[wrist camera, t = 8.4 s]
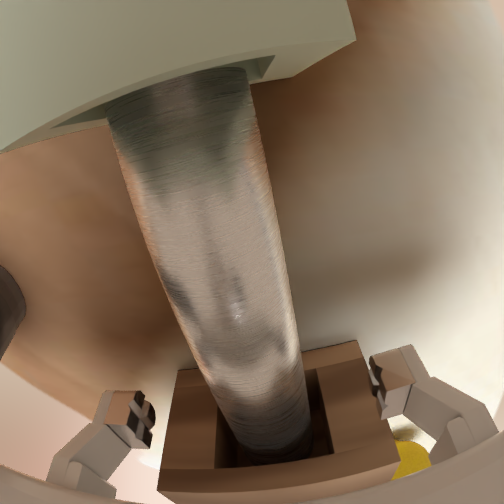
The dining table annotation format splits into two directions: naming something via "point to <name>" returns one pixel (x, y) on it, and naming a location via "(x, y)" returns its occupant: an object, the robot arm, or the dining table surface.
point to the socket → (290, 473)
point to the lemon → (411, 458)
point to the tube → (219, 249)
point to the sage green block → (144, 52)
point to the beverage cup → (9, 309)
